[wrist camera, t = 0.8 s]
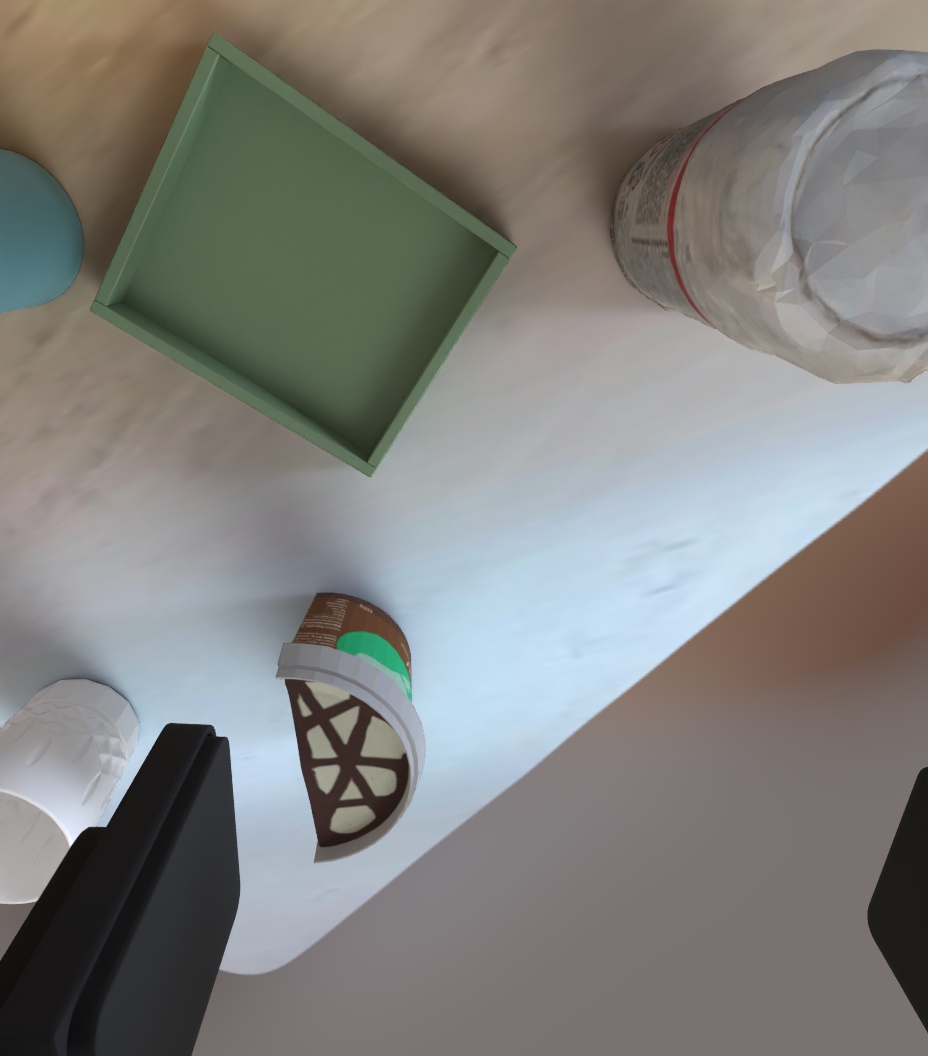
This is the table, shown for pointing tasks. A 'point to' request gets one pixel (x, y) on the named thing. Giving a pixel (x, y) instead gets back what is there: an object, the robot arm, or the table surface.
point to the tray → (296, 262)
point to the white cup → (57, 778)
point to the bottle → (35, 235)
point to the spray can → (796, 219)
